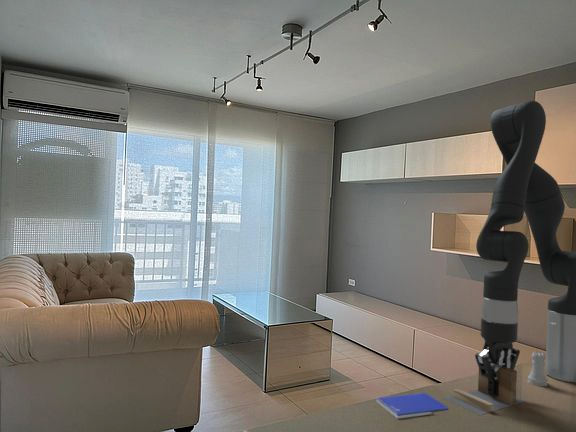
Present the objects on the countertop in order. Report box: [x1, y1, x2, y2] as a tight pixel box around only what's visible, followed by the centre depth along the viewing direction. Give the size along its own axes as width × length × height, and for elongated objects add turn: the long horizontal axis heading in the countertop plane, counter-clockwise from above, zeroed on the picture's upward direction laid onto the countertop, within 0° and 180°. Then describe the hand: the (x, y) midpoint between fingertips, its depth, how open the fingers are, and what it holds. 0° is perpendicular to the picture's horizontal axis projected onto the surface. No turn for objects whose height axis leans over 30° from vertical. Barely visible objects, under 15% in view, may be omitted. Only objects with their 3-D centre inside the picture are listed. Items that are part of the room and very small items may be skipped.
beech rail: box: [452, 388, 494, 413], centre depth 95 cm, size 1×9×2 cm, turn 30°
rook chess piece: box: [527, 350, 548, 387], centre depth 109 cm, size 4×4×8 cm
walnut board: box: [477, 363, 518, 404], centre depth 99 cm, size 2×8×7 cm, turn 30°
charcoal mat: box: [444, 389, 526, 416], centre depth 97 cm, size 16×9×1 cm, turn 120°
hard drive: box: [375, 392, 449, 420], centre depth 93 cm, size 2×8×12 cm
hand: (496, 394), depth 99 cm, fingers closed on walnut board, 2 cm apart
